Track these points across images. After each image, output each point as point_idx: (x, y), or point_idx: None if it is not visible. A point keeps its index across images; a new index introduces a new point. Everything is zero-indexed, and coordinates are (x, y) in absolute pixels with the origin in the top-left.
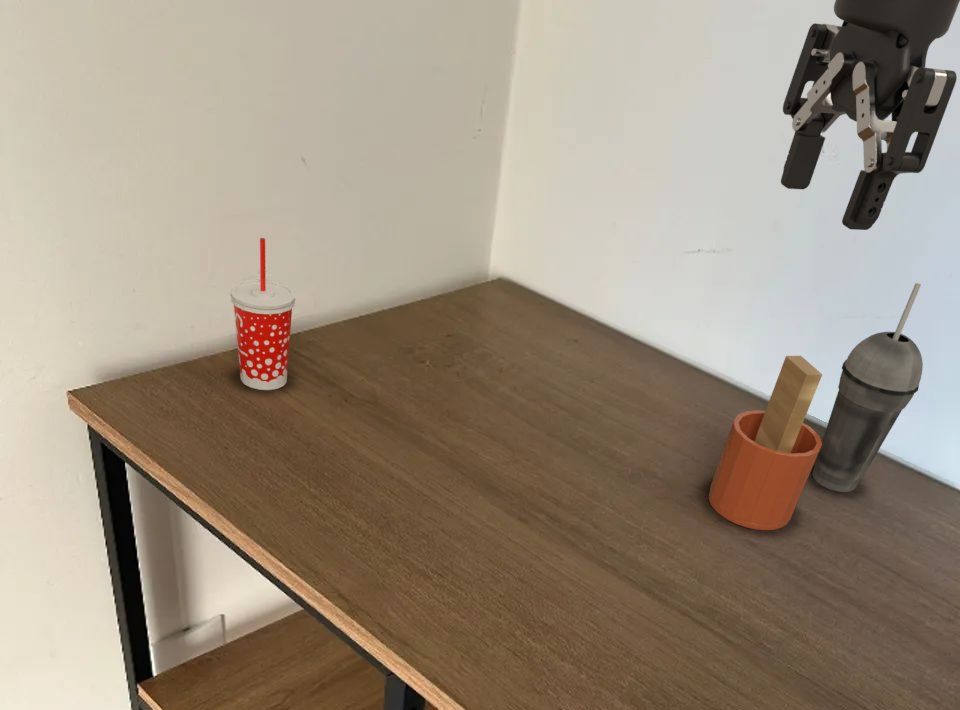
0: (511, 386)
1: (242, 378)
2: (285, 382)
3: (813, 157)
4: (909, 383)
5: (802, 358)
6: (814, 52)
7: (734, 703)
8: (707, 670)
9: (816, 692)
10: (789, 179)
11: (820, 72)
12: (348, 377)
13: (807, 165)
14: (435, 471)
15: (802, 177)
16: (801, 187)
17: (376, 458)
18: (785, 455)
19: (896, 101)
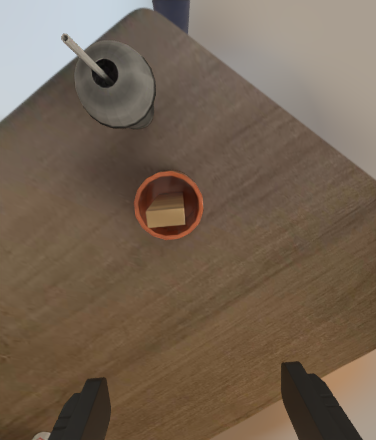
0: (28, 310)
1: None
2: (48, 433)
3: (89, 433)
4: (151, 77)
5: (152, 213)
6: None
7: (330, 278)
8: (308, 282)
9: (332, 234)
10: (106, 420)
11: None
12: (34, 401)
13: (95, 424)
14: (137, 370)
15: (101, 404)
16: (106, 386)
17: (125, 396)
18: (201, 215)
19: None
